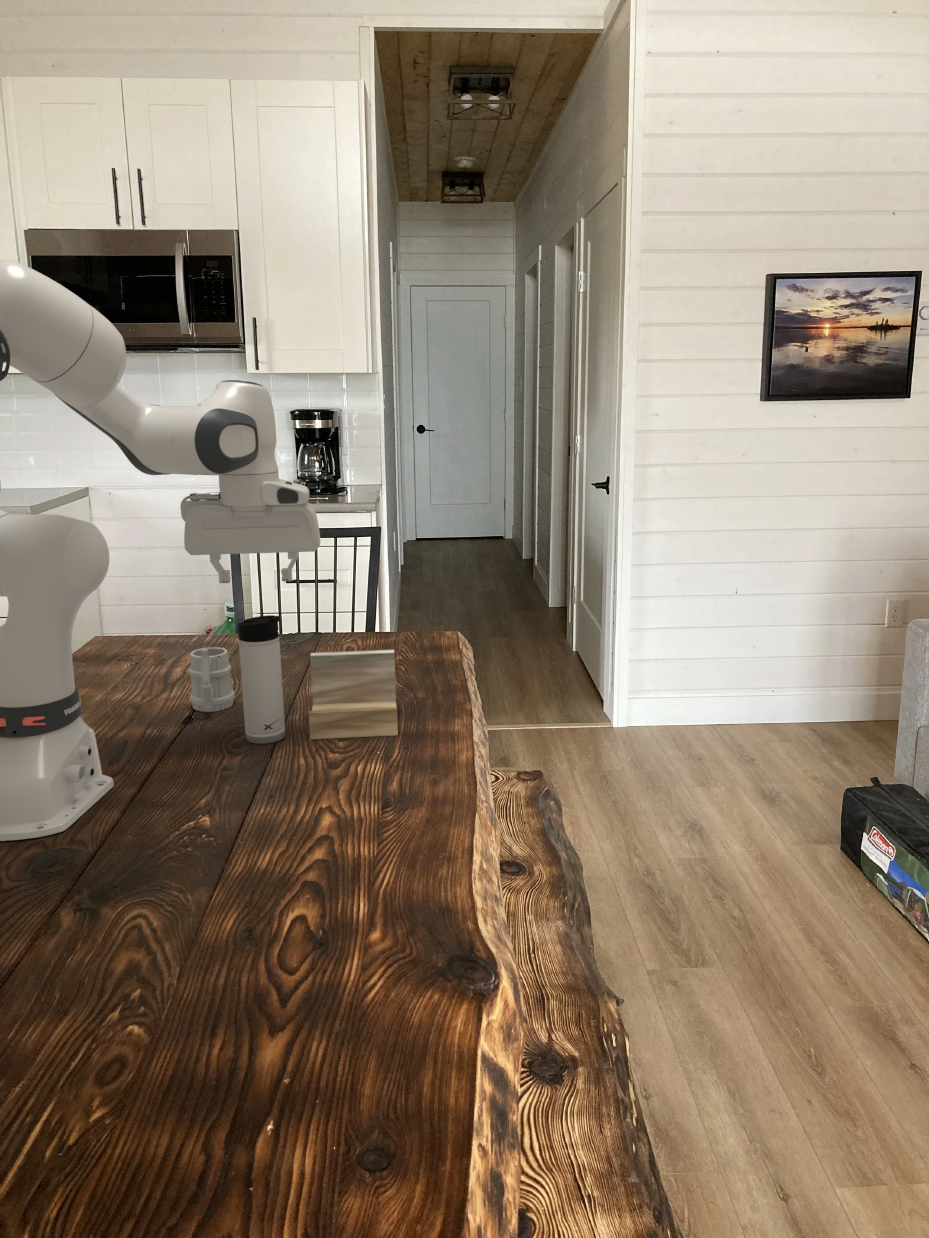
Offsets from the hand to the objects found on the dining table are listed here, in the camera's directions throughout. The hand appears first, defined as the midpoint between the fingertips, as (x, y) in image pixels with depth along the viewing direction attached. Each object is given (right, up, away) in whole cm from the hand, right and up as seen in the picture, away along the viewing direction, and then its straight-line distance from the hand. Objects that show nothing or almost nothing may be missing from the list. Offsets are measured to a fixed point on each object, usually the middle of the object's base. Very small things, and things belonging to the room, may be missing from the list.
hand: (256, 581), depth 146 cm
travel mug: (0, -25, +6) cm, 26 cm away
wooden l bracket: (+14, -23, +11) cm, 29 cm away
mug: (-12, -22, +20) cm, 32 cm away
